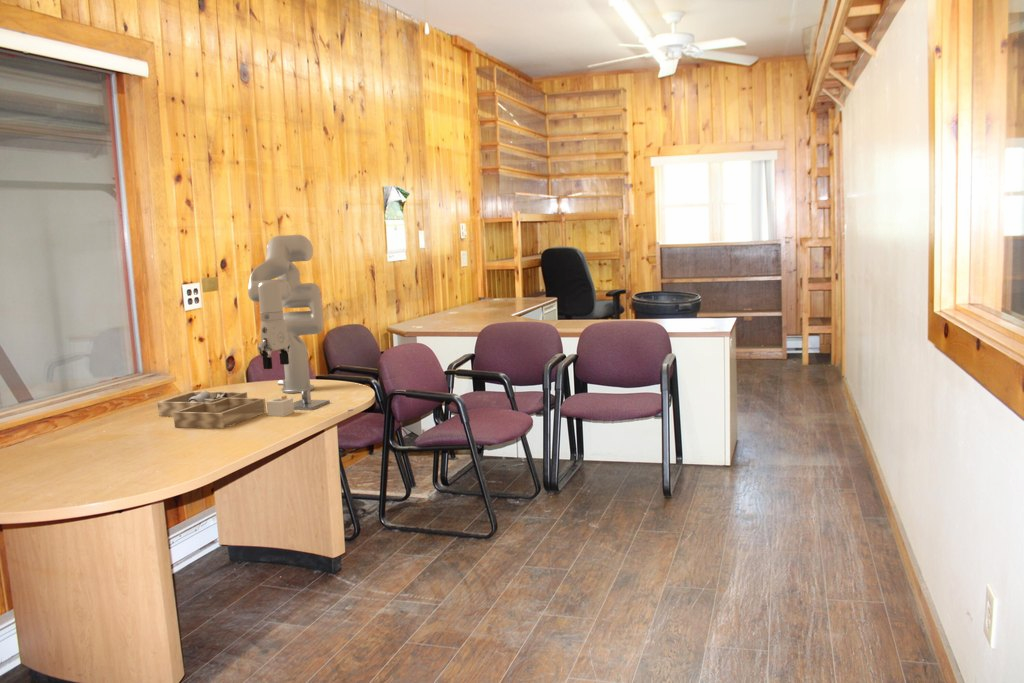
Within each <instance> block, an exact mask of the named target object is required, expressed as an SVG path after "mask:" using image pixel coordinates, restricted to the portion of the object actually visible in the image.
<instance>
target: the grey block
mask: <svg viewBox="0 0 1024 683" xmlns="http://www.w3.org/2000/svg"><path fill="white" fill-rule="evenodd" d="M293 403H294V398H293V397H288V395H281V397H275V398H273V399H270V400H267V401H266V414H267V416H268V417H286V416H288V415H291V414H293V413H295V410H294V405H293Z"/></svg>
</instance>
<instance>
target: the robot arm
mask: <svg viewBox="0 0 1024 683" xmlns="http://www.w3.org/2000/svg"><path fill="white" fill-rule="evenodd" d="M265 250H266V256H265V261H263V262H262V263H260V264H259V265H257V266H256V267H255V268H254V269H253V270H252V272H251V273H250V275H249V280H248V285H247V294H248V298H249V299H250V301H252V302H254V303H258V304H259V313H260V343H258V345H257V349H258V351H259V355H260V356H261V358H262V365H263V366H262V367H263V369H264V370H271V369H273V360H272V359H273V358H272V357H271V356H272V353H273V352H277V351H280V352H279V362H280V363H279V364H280V365H283V369H284V370H283V371H284V379H280V380H278V382H277V385H278V386H283V388H282V389H281V391H282V392H283V393H284V394H297V393H299V394H300V393H301V391H305V390H309V391H310V392H311V391H313V390H315V385H314V384H311V377H310V367H309V365H310V364H309V356H308V346H307V344H306V342H305V341H304V340H303V339H302V337H300V336H310V335H311V336H312V335H319V334H321V333H322V332H323V330H324V316H323V314H324V313H323V304H322V294H321V289H320V287H319V285H318V284H316V283H314V282H313V283H312V282H307V283H301V277H300V276H301V273H300V270H299V268H298V267H297V266H296V264H295V263H297V262H308V261H311V259H312V258H313V255H314V247H313V244H312V242H311V240H309V239H308V237H306V236H304V235H302V234H291V235H290V234H289V235H288V234H287V235H277V236H273V237H272V238H270V239H269V241H268V242H267V244H266V247H265ZM293 262H294V263H293ZM298 308H299V309H300V308H301V309H302V308H309V309H310V310H302V311H301V310H300V311H298V310H297V311H296V310H295V311H287V312H286V311H285V312H284V309H298Z"/></svg>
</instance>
